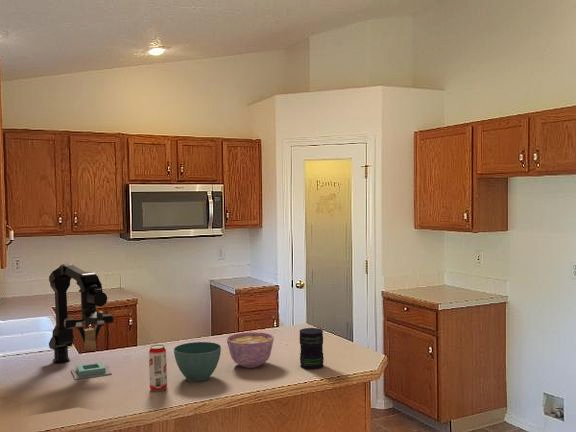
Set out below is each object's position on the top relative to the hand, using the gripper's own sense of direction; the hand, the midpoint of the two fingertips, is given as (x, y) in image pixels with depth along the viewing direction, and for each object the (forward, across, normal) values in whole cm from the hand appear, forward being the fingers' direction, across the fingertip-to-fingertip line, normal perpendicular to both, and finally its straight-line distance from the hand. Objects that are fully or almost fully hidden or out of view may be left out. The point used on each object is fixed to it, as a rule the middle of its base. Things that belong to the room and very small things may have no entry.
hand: (89, 341), depth 236 cm
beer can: (+13, +19, -35) cm, 42 cm away
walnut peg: (+3, 0, 0) cm, 3 cm away
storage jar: (+13, +82, -39) cm, 92 cm away
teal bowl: (+13, +36, -30) cm, 49 cm away
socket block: (+13, 0, 0) cm, 13 cm away
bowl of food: (+13, +61, -24) cm, 67 cm away
